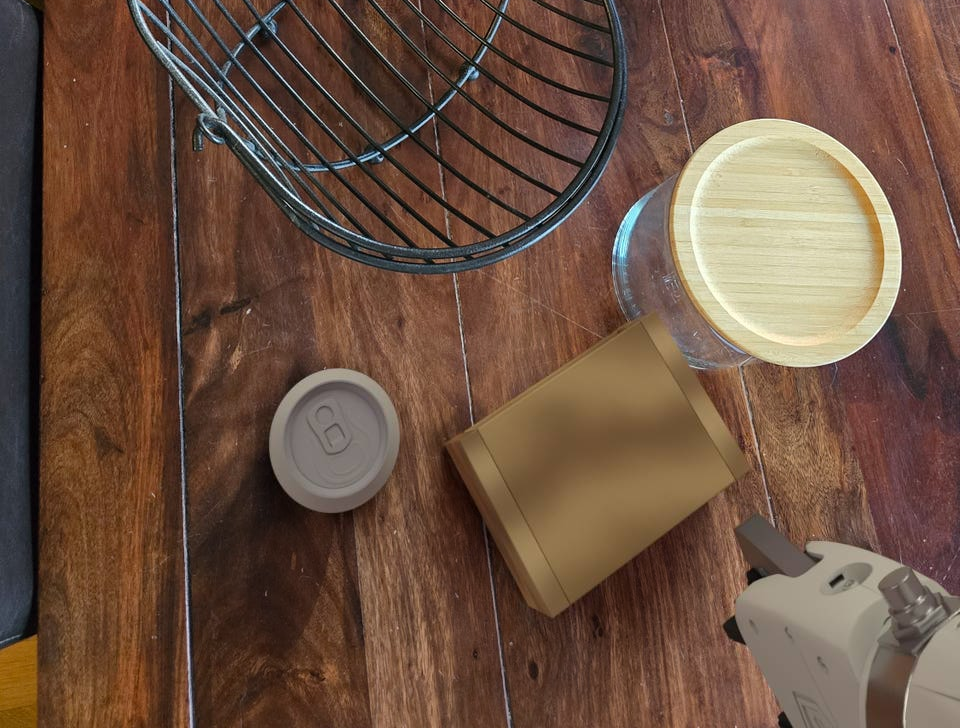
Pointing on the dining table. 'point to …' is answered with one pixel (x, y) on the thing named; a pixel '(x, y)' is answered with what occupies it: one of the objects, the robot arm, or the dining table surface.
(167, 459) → the dining table surface
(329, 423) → the beverage can
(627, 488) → the gold flanged block
